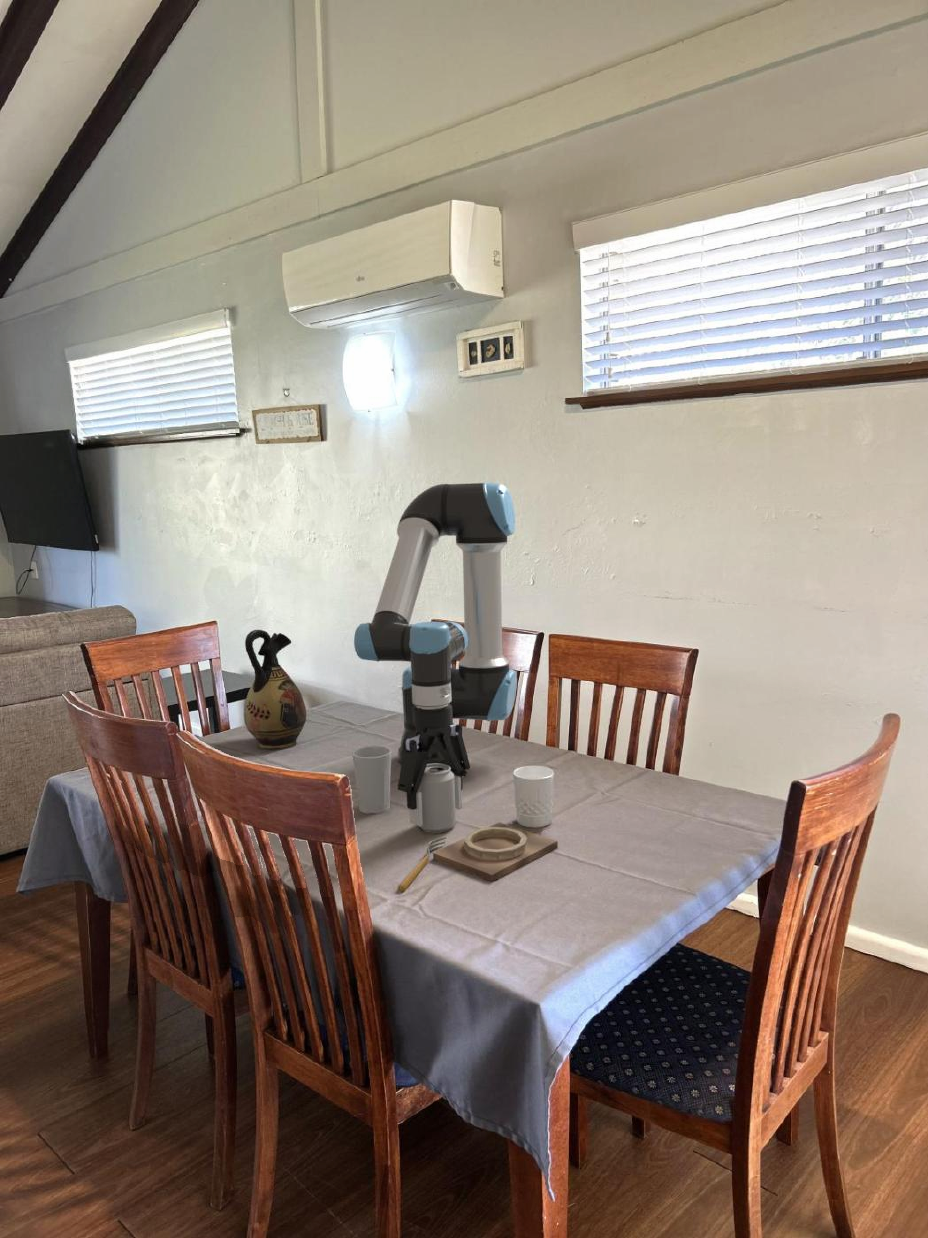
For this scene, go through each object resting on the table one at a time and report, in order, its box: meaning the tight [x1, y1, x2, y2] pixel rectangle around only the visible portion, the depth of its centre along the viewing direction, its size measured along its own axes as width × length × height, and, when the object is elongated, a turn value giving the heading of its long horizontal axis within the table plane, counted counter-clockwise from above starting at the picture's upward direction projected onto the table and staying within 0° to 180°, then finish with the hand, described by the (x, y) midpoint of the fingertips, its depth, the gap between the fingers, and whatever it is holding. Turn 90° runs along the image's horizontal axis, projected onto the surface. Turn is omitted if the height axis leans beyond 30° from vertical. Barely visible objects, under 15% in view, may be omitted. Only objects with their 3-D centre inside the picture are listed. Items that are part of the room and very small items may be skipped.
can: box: [418, 763, 457, 833], centre depth 178 cm, size 8×8×12 cm
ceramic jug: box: [243, 629, 307, 749], centre depth 233 cm, size 17×15×30 cm
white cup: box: [512, 765, 555, 828], centre depth 180 cm, size 8×8×10 cm
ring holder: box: [432, 821, 559, 882], centre depth 166 cm, size 18×14×3 cm
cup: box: [351, 745, 392, 814], centre depth 189 cm, size 8×8×12 cm
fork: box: [397, 837, 447, 893], centre depth 161 cm, size 2×2×20 cm
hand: (436, 815), depth 179 cm, fingers open, 10 cm apart
